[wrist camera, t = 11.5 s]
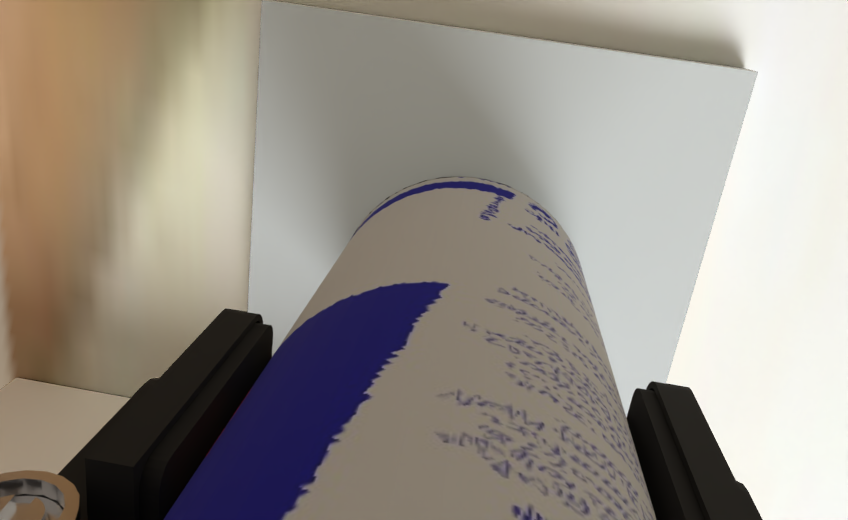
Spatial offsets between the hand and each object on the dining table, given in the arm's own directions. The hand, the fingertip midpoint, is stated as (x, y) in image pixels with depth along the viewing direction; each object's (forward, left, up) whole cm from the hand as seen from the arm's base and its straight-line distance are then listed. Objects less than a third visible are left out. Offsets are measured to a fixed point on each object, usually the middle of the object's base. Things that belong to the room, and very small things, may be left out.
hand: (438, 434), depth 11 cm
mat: (0, 0, -8) cm, 8 cm away
